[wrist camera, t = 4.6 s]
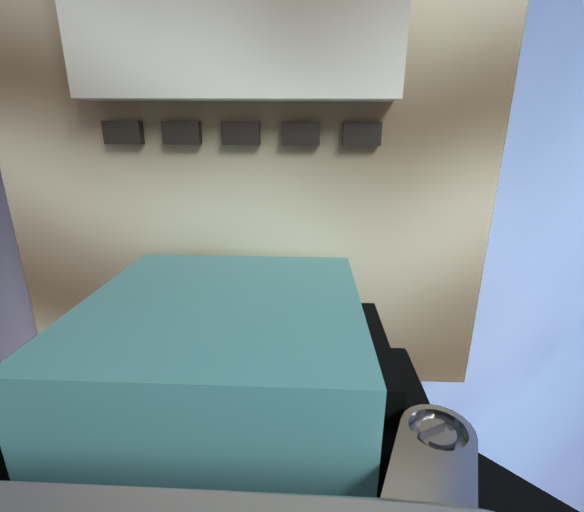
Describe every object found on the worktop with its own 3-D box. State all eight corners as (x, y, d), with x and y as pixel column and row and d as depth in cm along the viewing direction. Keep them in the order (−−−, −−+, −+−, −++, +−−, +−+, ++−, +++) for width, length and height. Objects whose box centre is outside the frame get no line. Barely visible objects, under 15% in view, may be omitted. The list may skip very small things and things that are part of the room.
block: (144, 253, 11) (-20, 378, 6) (347, 257, 11) (387, 391, 6) (161, 395, 13) (46, 602, 7) (340, 401, 13) (364, 620, 7)
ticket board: (-45, -313, 9) (-198, -503, 7) (543, -338, 9) (654, -560, 6) (79, 339, 15) (24, 388, 12) (443, 349, 14) (476, 403, 12)
